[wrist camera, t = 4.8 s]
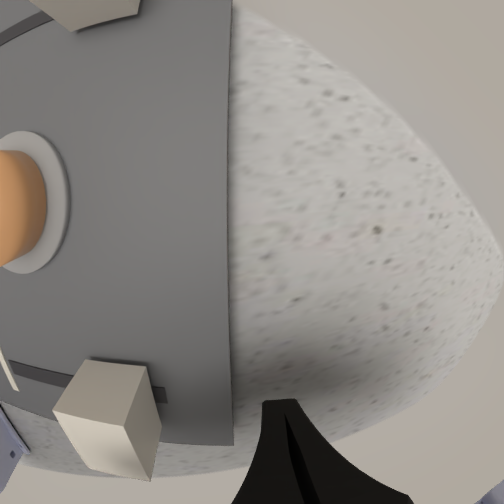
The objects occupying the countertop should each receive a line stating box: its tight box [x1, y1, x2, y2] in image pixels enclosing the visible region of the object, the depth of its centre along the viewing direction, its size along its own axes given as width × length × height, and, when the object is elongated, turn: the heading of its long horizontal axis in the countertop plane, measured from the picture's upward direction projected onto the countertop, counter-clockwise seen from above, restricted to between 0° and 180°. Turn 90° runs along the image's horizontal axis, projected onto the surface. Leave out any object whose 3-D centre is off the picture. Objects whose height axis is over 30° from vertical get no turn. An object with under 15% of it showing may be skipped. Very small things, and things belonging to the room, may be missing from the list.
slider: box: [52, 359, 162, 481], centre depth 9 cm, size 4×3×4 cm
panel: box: [0, 0, 234, 446], centre depth 9 cm, size 26×18×2 cm
